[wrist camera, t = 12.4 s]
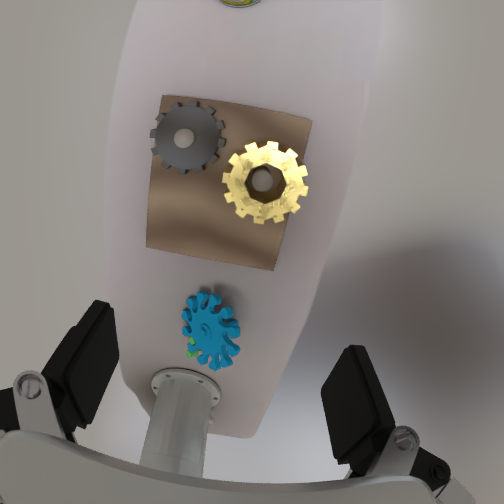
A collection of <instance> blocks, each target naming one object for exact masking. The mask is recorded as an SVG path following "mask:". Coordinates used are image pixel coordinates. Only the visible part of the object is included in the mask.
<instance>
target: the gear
mask: <svg viewBox="0 0 504 504" xmlns="http://www.w3.org/2000/svg"><path fill="white" fill-rule="evenodd" d="M196 297H197V298H190V299H188V300H187V301H186V302H187V305H188V307H189V308H190V310H191V311H190V310H184V311H183V313H182V318H183V319H184V320H186V321H187V322H188V324H189V325H190V326H185V327H183V329H182V332H183V335H184V336H190V338H189V342H190V343H188V344H187V345H188V349H189V350H188V351H186V355H187V357H189V358H190V357H194V356H197V355H198V350H199V351H201V350H202V352H203V354H202V355H200V356H197V360H198V362H199V363H200V364H201V365H204V364H206V363H208V357H209V355H211V357H212V361H211V362H210V363H209V368H210V369H212V370H214V371H216V370H218V369H220V368H221V366H222V367H227V366H230V365H232V364H233V362H232V360H231V358H230V357H229V355H230V356H231V357H232V356H235V355H237V354H238V353H239V351H240V347H239V346H238V345H236V344H234V343H233V342H232V341H231V340H230V339H229V337H228V335H229V336H230V338H233V339H234V338H237V337H239V335H240V328H239V327H238V322H237V321H236V320H233V321H230V322H226V323H224V322H223V318H224V319H228V318H232V317H233V316H234V315H233V311H232V309H231V307H225V308H222V309H221V311H220V312H219V313H216V312H215V309H214V307H215V305H219V304H221V302H222V299H221V298H220V297H219V295H217V294H211V295H210V296H209V303H208V306H207V307H205V302H206V301H207V299H208V293H206V292H197V294H196ZM197 304H198V309H197ZM227 333H228V335H227ZM226 347H227V350H226ZM227 351H228V353H227ZM219 354H220V356H221V360H220V362H219ZM228 354H229V355H228ZM220 364H221V365H220Z"/></svg>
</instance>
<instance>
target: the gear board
mask: <svg viewBox="0 0 504 504" xmlns="http://www.w3.org/2000/svg"><path fill="white" fill-rule="evenodd" d="M156 120H157V121H158V122H157V129H153V130H151V132H150V138H155V142H154V148H152V149H151V150H152V153H153V158H152V167H151V176H150V187H149V199H148V213H147V231H146V247H148V248H153V249H158V250H163V251H168V252H174V253H179V254H184V255H189V256H194V257H200V258H205V259H210V260H216V261H221V262H227V263H232V264H237V265H243V266H248V267H254V268H260V269H265V270H271V271H274V267H275V264H276V260H277V256H278V253H279V249H280V246H281V242H282V238H283V235H284V231H285V227H286V223H287V220H288V216H289V212H287V213H284V214H283V217H284V220H283V221H280V222H277V223H275V222H274V219H273V218H270V219H267V220H264V224H258V223H254V216H252V215H250V214H248V213H247V214H246V215H245V216H244V218H242V217H240V216H239V215H238V214H236V213H235V209H236V204H235V202H234V201H232V202H230V203H227V201H226V198H225V196H224V192H225V190H226V187H227V183H222V180H223V172H224V171H225V169H226V167H227V166H228V165H229V166H234V165H232V164H231V163H230V162H228V161H229V160H230V158H231V156H232V155H233V154H234V153H235V151H236V150H237V149H238V150H240V151H242V150H245V149H246V147H245V145H246V143H247V142H249V141H252V140H255V141H256V143H257V145H259V144H261V143H264V142H265V140H266V139H272V140H275V141H277V142H278V148H279V149H281V148H282V147H283V146H284V145H286V146H287V147H289V148H290V149H291V150H292V151H294V152H295V153H296V154H297V155H298V156H297V157H296V158H295V160H296V159H298V160H299V161H300V162H303V158H304V154H305V150H306V146H307V141H308V137H309V133H310V129H311V125H312V121H311V120H308V119H304V118H300V117H296V116H292V115H288V114H284V113H280V112H275V111H271V110H266V109H261V108H256V107H251V106H245V105H240V104H234V103H228V102H221V101H214V100H207V99H198V98H189V97H179V96H167V95H162V99H161V105H160V110H159V115H158V116H157V118H156ZM281 178H282V173H281V171H280V169H279V168H277V167H274V166H272V165H270V164H268V163H265V164H262V165H259V166H257V167H254V168H251V169H250V172H249V174H248V176H247V180H248V182H249V185H250V187H251V188H253V189H256V190H258V191H260V192H262V193H264V192H267V191H270V190H273V189H276V188H277V186H278V184H279V182H280V180H281Z"/></svg>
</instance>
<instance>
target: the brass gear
mask: <svg viewBox="0 0 504 504" xmlns="http://www.w3.org/2000/svg"><path fill="white" fill-rule="evenodd" d="M245 147H246V149H245V150H242V151H240V150H238V149H237V150H236V151H235V153H234V154H233V155H232V156H231V158H230V160H229V161H228V162H230V163H231V164H232V165H234V166H229V165H228V166H227V167H226V169H225V171H224V172H223V180H222V183H227V187H226V190H225V192H224V196H225V198H226V201H227V203H230V202H232V201H234V202H235V204H236V209H235V213H236V214H238V215H239V216H240V217H242V218H244V216H245V215H246V214H247V213H248V214H250V215H252V216H254V223H258V224H264V220H267V219H270V218H273V219H274V222H275V223H277V222H280V221H283V220H284V217H283V214H284V213H287V212H290V211H292V212H293V213H295V212H296V211H297V210H298V209H299V208H300V207H301V206H300V204H299V202H298V200H297V199H298V197H299V195H303V196H306V195H307V191H308V185H307V184H306V183H305V182H304V180H303V179H302V177H303V176H306V175H308V174H307V171H306V168H305V165H304V164H303V163H302V162H300V161H299V160H298V159H296V160H295V158H296V157H297V156H298V155H297V154H296V153H295V152H294V151H292V150H291V149H290V148H289V147H287V146H286V145H284V146H283V147H282V148H281V149H279V148H278V142H277V141H275V140H272V139H266V140H265V142H264V143H261V144H259V145H257V143H256V141H255V140H252V141H249V142H247V143H246V145H245ZM265 163H268V164H270V165H272V166H274V167H277V168H279V169H280V171H281V173H282V178H281V180H280V182H279V184H278V186H277V188H276V189H273V190H270V191H267V192H264V193H262V192H260V191H258V190H256V189H253V188H251V187H250V185H249V182H248V180H247V176H248V174H249V172H250V169H251V168H254V167H257V166H259V165H262V164H265Z"/></svg>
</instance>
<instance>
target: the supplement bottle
mask: <svg viewBox="0 0 504 504" xmlns="http://www.w3.org/2000/svg"><path fill="white" fill-rule="evenodd" d="M220 1H221V2H222V3H224V4H226V5H228V6H232V7H246V6H250V5H253V4H255V3H257V2H258V1H260V0H220Z"/></svg>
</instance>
